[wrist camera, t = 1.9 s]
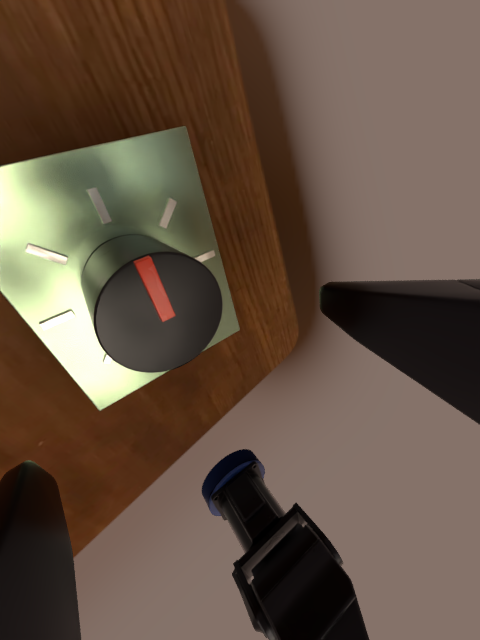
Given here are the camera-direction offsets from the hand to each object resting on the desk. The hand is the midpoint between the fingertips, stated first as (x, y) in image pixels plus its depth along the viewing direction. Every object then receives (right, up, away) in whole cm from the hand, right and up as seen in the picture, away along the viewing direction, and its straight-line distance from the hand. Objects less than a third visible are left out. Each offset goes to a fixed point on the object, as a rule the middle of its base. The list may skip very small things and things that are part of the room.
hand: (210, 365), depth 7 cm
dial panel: (-6, +4, +8) cm, 11 cm away
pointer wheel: (-4, +3, +6) cm, 8 cm away
